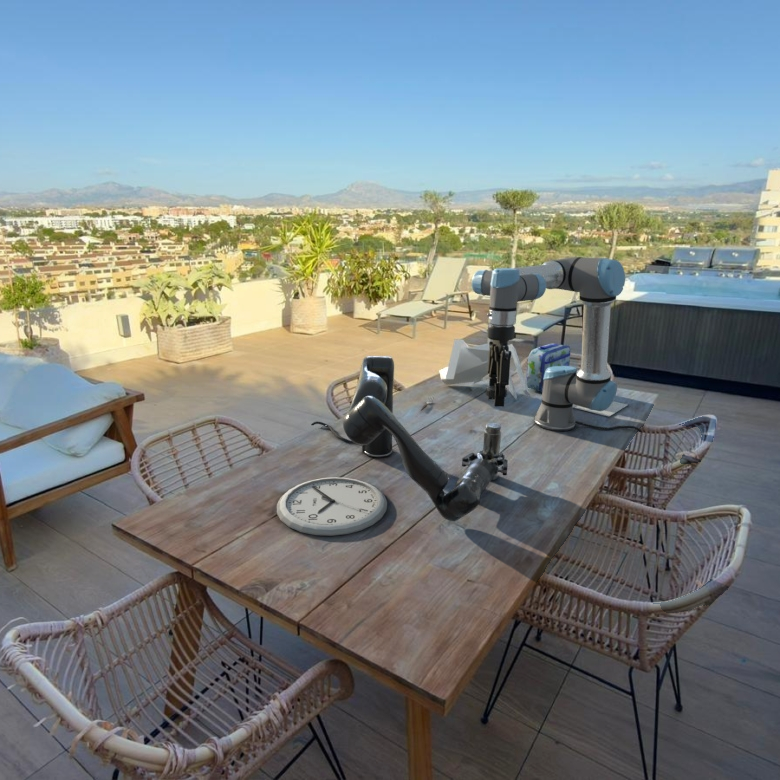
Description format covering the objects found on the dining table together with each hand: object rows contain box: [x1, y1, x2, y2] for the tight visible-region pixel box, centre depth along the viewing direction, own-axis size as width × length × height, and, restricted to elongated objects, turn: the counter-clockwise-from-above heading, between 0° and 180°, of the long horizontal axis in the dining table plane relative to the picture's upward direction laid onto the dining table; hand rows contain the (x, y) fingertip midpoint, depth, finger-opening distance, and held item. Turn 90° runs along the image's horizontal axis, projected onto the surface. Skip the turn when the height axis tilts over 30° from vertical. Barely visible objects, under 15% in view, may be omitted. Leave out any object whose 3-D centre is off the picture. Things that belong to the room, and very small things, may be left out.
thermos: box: [482, 422, 502, 481], centre depth 158 cm, size 5×5×17 cm
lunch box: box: [525, 343, 571, 393], centre depth 249 cm, size 26×11×21 cm, turn 134°
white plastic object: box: [438, 338, 531, 400], centre depth 245 cm, size 37×45×31 cm
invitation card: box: [573, 400, 629, 418], centre depth 226 cm, size 21×1×15 cm
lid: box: [485, 385, 508, 398], centre depth 153 cm, size 6×6×2 cm
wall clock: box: [276, 476, 388, 537], centre depth 142 cm, size 30×2×30 cm
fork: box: [420, 396, 435, 411], centre depth 223 cm, size 3×16×2 cm, turn 160°
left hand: (492, 454), depth 161 cm, fingers closed on thermos, 5 cm apart
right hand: (495, 402), depth 154 cm, fingers closed on lid, 6 cm apart
